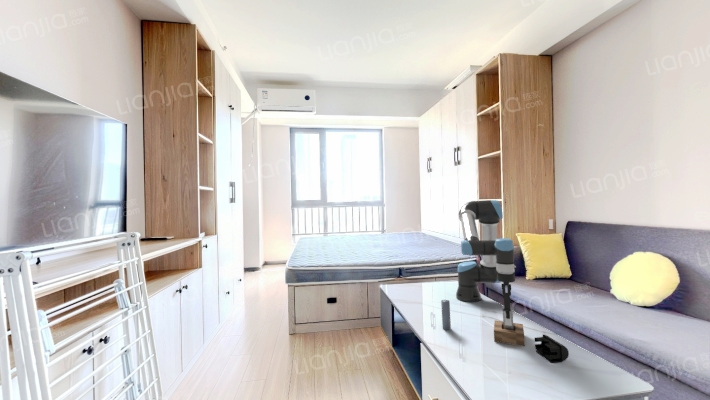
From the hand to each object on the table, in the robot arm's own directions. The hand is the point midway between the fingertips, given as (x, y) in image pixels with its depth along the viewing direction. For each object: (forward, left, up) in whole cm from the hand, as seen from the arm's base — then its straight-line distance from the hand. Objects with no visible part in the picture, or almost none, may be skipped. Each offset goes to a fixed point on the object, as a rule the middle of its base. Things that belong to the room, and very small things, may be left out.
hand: (508, 320), depth 134 cm
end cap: (+11, +15, -8) cm, 20 cm away
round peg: (0, -28, -8) cm, 29 cm away
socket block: (0, 0, -8) cm, 8 cm away
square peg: (0, 0, -8) cm, 8 cm away
